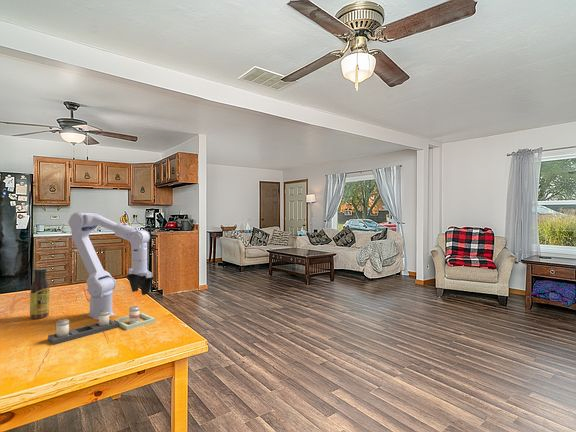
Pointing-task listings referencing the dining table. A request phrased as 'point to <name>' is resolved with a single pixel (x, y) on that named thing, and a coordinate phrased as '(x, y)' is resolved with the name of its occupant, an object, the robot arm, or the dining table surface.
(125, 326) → the tray
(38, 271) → the sauce bottle
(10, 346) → the dining table surface
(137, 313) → the fuse marked
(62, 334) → the fuse
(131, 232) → the robot arm
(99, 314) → the fuse
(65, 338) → the fuse block
